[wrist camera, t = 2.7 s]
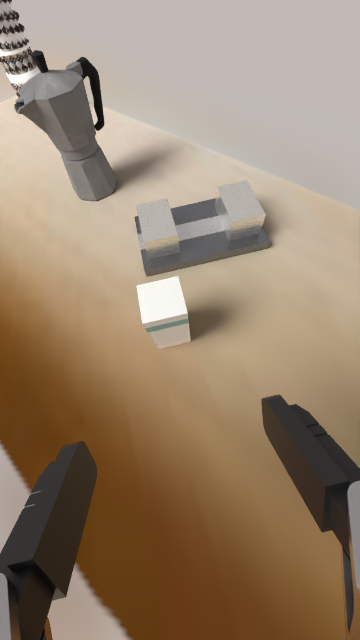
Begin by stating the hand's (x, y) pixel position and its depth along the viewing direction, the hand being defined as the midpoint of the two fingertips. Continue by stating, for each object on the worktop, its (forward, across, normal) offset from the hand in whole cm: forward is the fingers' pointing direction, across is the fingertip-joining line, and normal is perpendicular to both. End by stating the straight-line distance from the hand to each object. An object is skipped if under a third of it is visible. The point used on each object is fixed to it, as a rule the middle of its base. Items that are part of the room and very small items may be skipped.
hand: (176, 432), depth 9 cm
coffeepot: (+46, +8, -22) cm, 51 cm away
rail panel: (+31, -8, -8) cm, 33 cm away
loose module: (+20, 0, +4) cm, 20 cm away
